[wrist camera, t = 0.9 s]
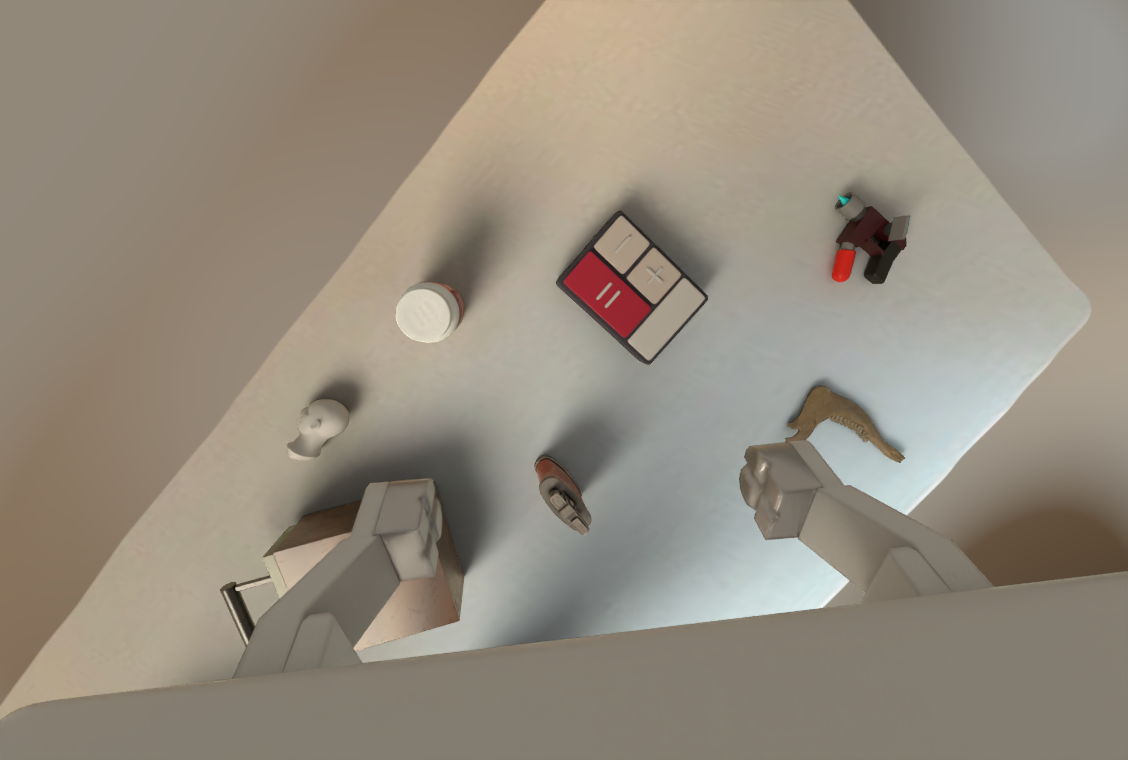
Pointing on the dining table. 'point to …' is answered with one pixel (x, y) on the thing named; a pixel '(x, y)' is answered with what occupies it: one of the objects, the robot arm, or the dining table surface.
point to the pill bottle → (429, 311)
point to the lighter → (562, 494)
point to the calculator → (632, 288)
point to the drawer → (233, 590)
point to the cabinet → (411, 601)
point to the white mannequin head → (317, 428)
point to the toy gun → (868, 239)
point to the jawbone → (838, 419)
